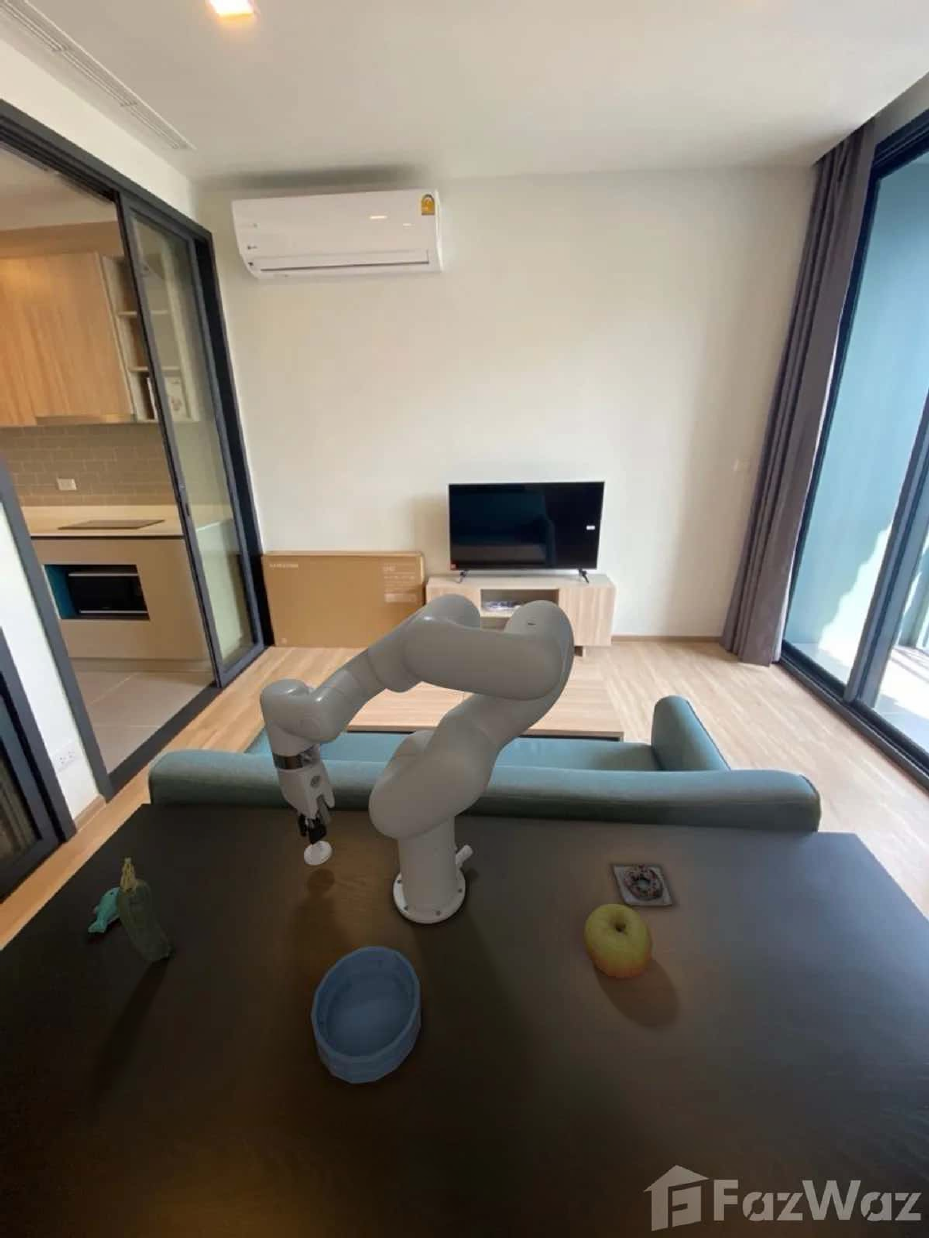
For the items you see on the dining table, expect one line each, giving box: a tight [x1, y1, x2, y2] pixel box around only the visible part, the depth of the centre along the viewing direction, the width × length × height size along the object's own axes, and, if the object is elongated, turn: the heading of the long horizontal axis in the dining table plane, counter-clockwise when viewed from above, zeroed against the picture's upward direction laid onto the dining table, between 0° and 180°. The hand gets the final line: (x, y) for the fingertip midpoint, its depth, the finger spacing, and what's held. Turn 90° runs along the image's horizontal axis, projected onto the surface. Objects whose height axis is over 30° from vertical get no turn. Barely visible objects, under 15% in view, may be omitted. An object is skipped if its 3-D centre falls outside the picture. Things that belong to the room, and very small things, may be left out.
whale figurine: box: [87, 886, 121, 933], centre depth 84 cm, size 6×7×4 cm
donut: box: [612, 863, 673, 907], centre depth 87 cm, size 8×8×2 cm
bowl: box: [310, 945, 422, 1084], centre depth 68 cm, size 14×14×5 cm
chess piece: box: [303, 817, 333, 866], centre depth 90 cm, size 5×5×10 cm
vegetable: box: [115, 857, 171, 963], centre depth 73 cm, size 4×4×20 cm
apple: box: [583, 902, 653, 980], centre depth 75 cm, size 10×10×8 cm
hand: (314, 834), depth 90 cm, fingers closed on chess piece
